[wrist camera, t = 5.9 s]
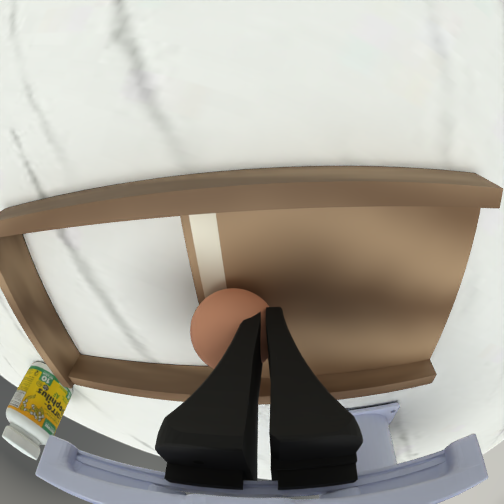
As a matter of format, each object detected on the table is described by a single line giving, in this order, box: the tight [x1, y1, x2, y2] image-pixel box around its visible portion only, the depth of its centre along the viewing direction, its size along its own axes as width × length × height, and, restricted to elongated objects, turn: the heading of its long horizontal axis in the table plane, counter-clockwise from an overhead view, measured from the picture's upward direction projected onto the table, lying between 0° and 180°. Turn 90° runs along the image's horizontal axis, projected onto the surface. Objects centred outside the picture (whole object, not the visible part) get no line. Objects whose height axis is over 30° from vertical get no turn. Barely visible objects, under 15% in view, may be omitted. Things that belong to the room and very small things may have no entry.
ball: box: [190, 288, 269, 369], centre depth 13 cm, size 4×4×4 cm
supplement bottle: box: [2, 362, 73, 460], centre depth 19 cm, size 5×5×10 cm
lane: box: [0, 166, 503, 404], centre depth 15 cm, size 14×28×3 cm, turn 95°
